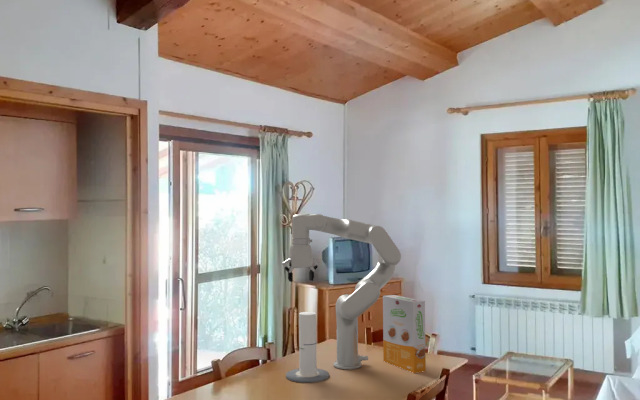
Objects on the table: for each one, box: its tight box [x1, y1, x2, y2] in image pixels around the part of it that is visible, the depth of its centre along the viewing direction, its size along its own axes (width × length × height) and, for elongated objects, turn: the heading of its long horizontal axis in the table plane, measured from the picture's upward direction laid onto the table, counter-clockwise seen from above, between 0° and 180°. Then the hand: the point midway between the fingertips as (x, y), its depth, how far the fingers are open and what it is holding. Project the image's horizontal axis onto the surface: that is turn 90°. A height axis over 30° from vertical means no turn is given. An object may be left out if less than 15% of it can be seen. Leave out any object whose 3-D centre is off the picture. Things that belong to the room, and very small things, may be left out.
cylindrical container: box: [298, 311, 318, 376], centre depth 232 cm, size 7×7×25 cm
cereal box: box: [382, 294, 427, 374], centre depth 246 cm, size 22×6×30 cm, turn 28°
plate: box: [285, 368, 330, 384], centre depth 231 cm, size 18×18×1 cm
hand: (301, 280), depth 245 cm, fingers open, 9 cm apart
